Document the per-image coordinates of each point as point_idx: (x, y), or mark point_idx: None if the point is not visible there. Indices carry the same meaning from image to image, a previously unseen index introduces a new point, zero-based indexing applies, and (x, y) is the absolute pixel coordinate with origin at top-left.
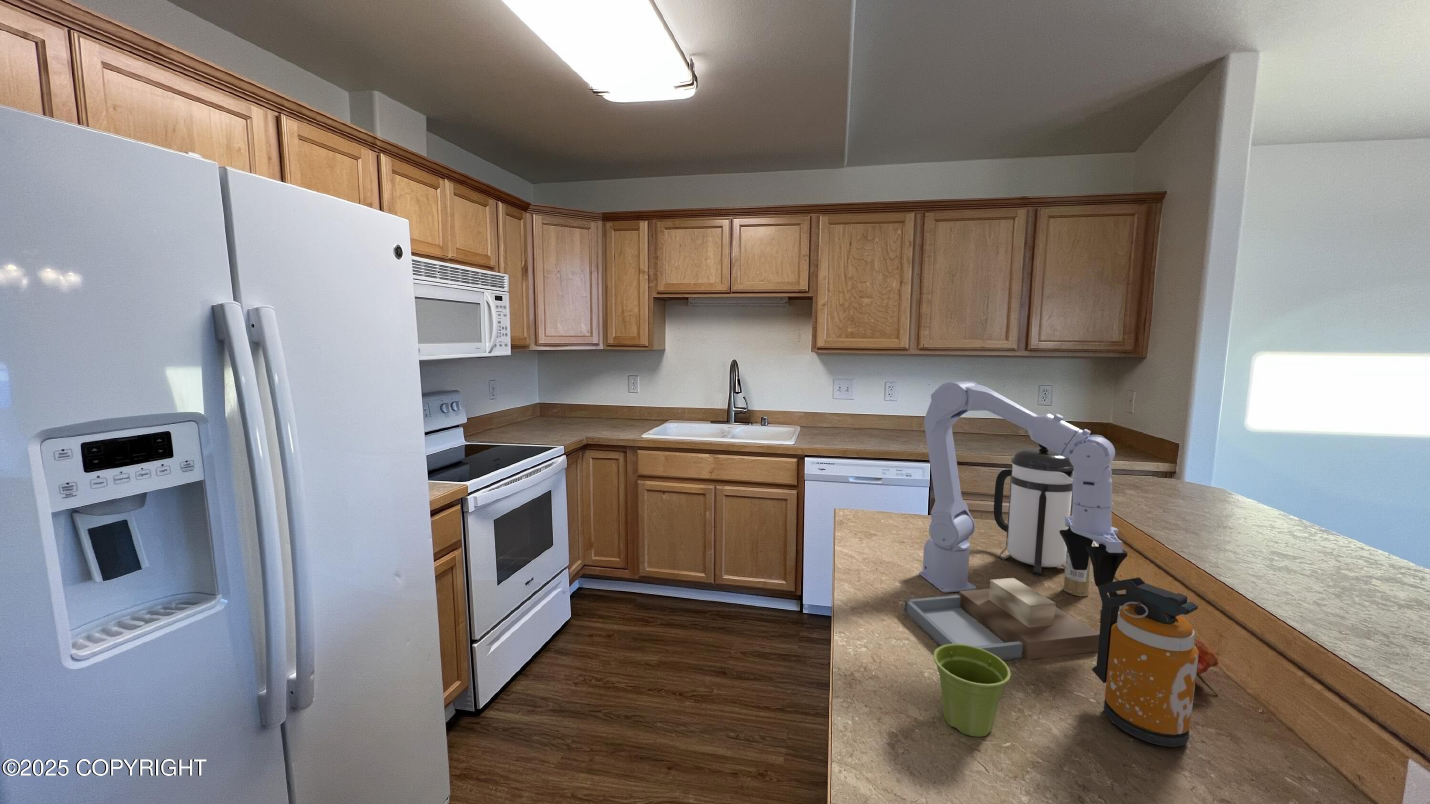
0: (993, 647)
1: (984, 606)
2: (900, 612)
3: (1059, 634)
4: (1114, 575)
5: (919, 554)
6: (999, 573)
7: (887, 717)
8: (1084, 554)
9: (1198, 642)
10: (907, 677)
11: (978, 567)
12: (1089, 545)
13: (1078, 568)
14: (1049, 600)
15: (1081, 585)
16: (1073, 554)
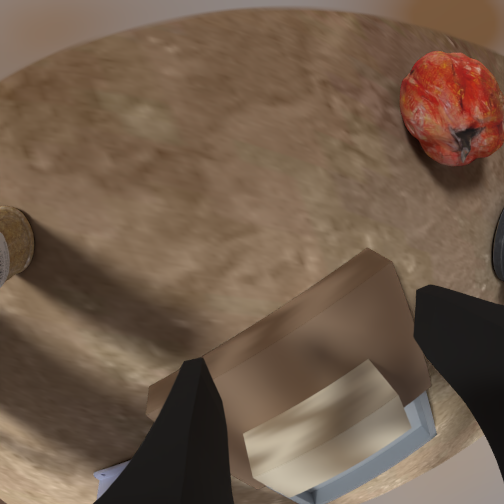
0: (431, 414)
1: None
2: None
3: (405, 347)
4: (484, 302)
5: (57, 489)
6: (24, 398)
7: (477, 427)
8: (205, 443)
9: (497, 90)
10: (440, 442)
11: (28, 427)
12: (191, 491)
13: (217, 393)
14: (385, 407)
15: (13, 240)
16: (227, 475)
